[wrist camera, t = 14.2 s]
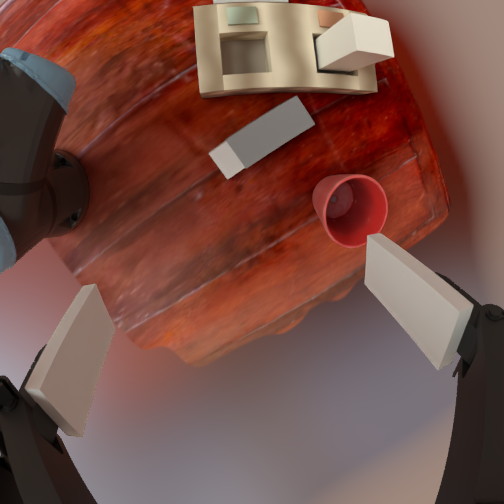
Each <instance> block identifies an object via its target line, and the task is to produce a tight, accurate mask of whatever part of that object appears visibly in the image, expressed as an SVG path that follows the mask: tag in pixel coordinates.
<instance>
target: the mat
mask: <svg viewBox="0 0 504 504" xmlns="http://www.w3.org/2000/svg"><path fill="white" fill-rule="evenodd" d="M213 2H214V4H226V3H250V2H268V3H288V0H213Z"/></svg>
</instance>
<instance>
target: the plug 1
mask: <svg viewBox="0 0 504 504" xmlns="http://www.w3.org/2000/svg"><path fill="white" fill-rule="evenodd" d="M313 125H315V123H314V121H313V120H312V118H311V117H310V115H309V113H308V112H307V110H306V109H305V107H304V106H303V104H302V103H301V101H300V99H299V98H298V96H294V97H292V98H290V99H288V100H286V101H284V102H283V103H281V104H279V105H277V106H276V107H274V108H273V109H271V110H269V111H268V112H266V113H264V114H263V115H261V116H260V117H258V118H256V119H255V120H253V121H252V122H250V123H249V124H247V125H245V126H244V127H242V128H241V129H239V130H238V131H236V132H235V133H233V134H232V135H230V136H229V137H227V138H226V139H225V141H224V142H222V143H221V144H220V145H218V146H217V147H215V148H214V149H212V150H211V151H210V152H209V155H210V156H211V158H212V159H213V161H214V162H215V163H216V165H217V166H218V167H219V169H220V170H221V171H222V173H223V174H224V175H225V177H226V178H227V180H228V179H229V178H231V177H232V176H234V175H235V174H237V173H238V172H239V171H241V170H242V169H244V168H246V169H247V168H248V167H250V166H251V165H253V164H254V163H256V162H257V161H259V160H260V159H262V158H263V157H265V156H266V155H268V154H269V153H271V152H272V151H274V150H275V149H277V148H278V147H280V146H281V145H283V144H285V143H286V142H288V141H289V140H291V139H292V138H294V137H296V136H297V135H299V134H300V133H302V132H304V131H305V130H307V129H309V128H310V127H312V126H313Z"/></svg>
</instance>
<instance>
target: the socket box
mask: <svg viewBox="0 0 504 504" xmlns="http://www.w3.org/2000/svg"><path fill="white" fill-rule="evenodd" d="M193 8H194V25H195V40H196V53H197V66H198V78H199V89H200V95H201V98H202V99H203V98H211V97H220V96H230V95H242V94H257V93H283V92H312V93H338V94H353V95H363V94H368V93H374V92H378V91H377V80H376V71H375V63H374V64H371V65H368V66H365V67H362V68H359V69H356V70H354V71H351V72H347V71H346V72H344V73H341V74H338V73H325V72H317V68H316V59H315V51H314V43H315V42H316V39H317V38H318V37H319V36H321V35H322V34H323V33H324V32H326V31H327V30H328V29H329V28H331V27H332V26H333V25H335V24H336V23H337V22H339V21H340V20H341V19H343V18H344V17H345V16H347V15H348V14H349V13H356V14H361V15H365V16H367V14H364V13H359V12H354V11H349V10H343V9H337V8H331V7H323V6H315V5H305V4H292V3H268V2H250V3H226V4H213V5H203V6H195V7H193Z"/></svg>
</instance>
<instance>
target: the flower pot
mask: <svg viewBox="0 0 504 504" xmlns="http://www.w3.org/2000/svg"><path fill="white" fill-rule="evenodd" d="M312 201H313V206H314V208H315V211H316V213H317V215H318V217H319V219H320V221H321V223H322V225H323V227H324V229H325V230H326V232H327V234H328V235H329V237H330V238H331V239H332V240H333V241H334V242H335V243H337V244H338V245H340V246H342V247H346V248H357V247H361V246H363V245H365V244H367V235H372V234H377V233H380V231H381V230H382V228H383V226H384V224H385V221H386V218H387V213H388V202H387V197H386V194H385V192H384V190H383V188H382V187H381V185H380V184H379V183H378V182H377V181H376V180H374V179H373V178H371V177H369V176H366V175H360V174H341V175H332V176H328V177H325V178H324V179H322V180H321V181H320V182H319V183H318V184H317V185H316V187H315V189H314V191H313V196H312Z"/></svg>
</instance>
